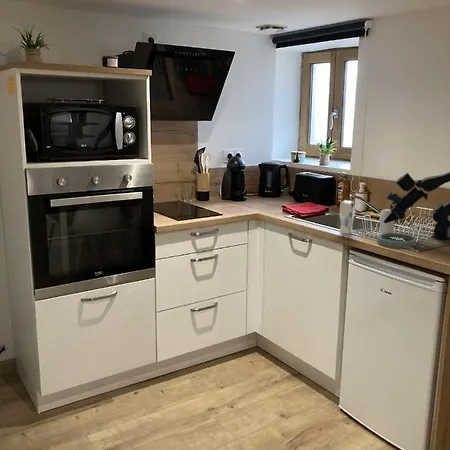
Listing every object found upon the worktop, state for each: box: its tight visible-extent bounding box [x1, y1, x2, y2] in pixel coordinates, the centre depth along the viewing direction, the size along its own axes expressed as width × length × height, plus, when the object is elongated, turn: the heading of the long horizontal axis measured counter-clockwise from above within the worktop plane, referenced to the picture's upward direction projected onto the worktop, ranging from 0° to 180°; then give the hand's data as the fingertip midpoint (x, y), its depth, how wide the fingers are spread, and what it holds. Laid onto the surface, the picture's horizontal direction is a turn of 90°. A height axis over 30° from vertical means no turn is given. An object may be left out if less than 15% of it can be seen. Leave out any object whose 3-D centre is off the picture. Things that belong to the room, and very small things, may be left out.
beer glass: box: [339, 200, 356, 235], centre depth 240 cm, size 7×7×15 cm
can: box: [378, 208, 396, 234], centre depth 235 cm, size 6×6×12 cm
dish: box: [377, 232, 418, 249], centre depth 222 cm, size 16×16×2 cm
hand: (384, 220), depth 235 cm, fingers closed on can, 6 cm apart
